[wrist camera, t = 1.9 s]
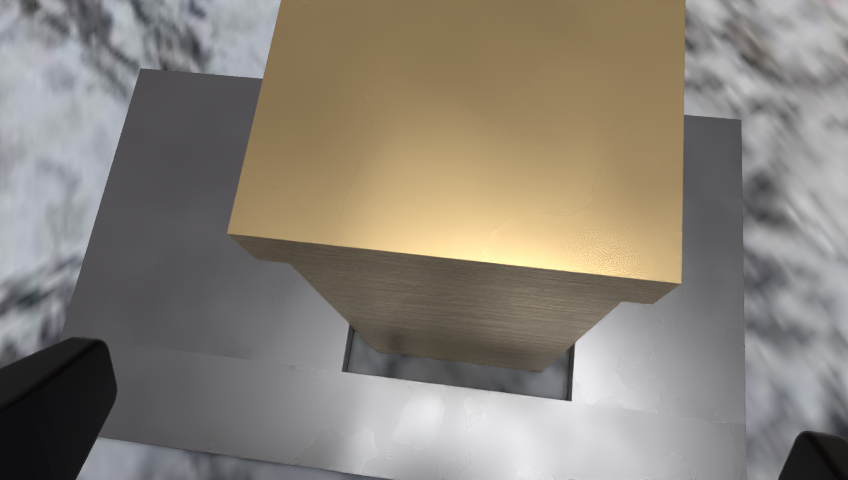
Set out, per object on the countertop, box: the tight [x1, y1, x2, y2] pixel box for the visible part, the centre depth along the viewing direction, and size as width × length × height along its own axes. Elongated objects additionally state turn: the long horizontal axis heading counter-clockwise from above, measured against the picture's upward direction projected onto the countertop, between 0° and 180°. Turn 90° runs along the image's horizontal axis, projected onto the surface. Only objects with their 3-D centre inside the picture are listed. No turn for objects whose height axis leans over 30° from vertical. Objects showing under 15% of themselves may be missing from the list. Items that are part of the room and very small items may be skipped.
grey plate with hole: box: [59, 68, 746, 480], centre depth 20 cm, size 12×20×1 cm, turn 82°
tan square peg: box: [227, 0, 685, 372], centre depth 14 cm, size 5×5×12 cm
